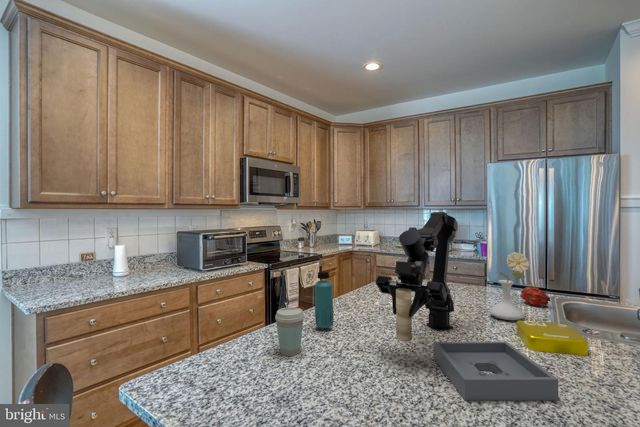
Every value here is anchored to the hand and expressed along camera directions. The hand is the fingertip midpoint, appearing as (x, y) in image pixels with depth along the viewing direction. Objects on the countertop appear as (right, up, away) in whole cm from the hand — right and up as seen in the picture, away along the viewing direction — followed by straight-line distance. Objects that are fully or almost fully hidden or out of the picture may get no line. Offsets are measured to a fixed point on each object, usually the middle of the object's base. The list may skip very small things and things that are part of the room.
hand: (401, 315), depth 85 cm
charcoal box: (+20, -13, -6) cm, 25 cm away
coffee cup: (-30, -14, +10) cm, 35 cm away
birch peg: (+1, -7, +1) cm, 7 cm away
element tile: (+49, -13, +14) cm, 52 cm away
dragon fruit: (+70, -12, +52) cm, 88 cm away
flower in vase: (+49, -13, +36) cm, 63 cm away
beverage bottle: (-20, -14, +28) cm, 37 cm away
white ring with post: (+10, -13, +57) cm, 60 cm away
